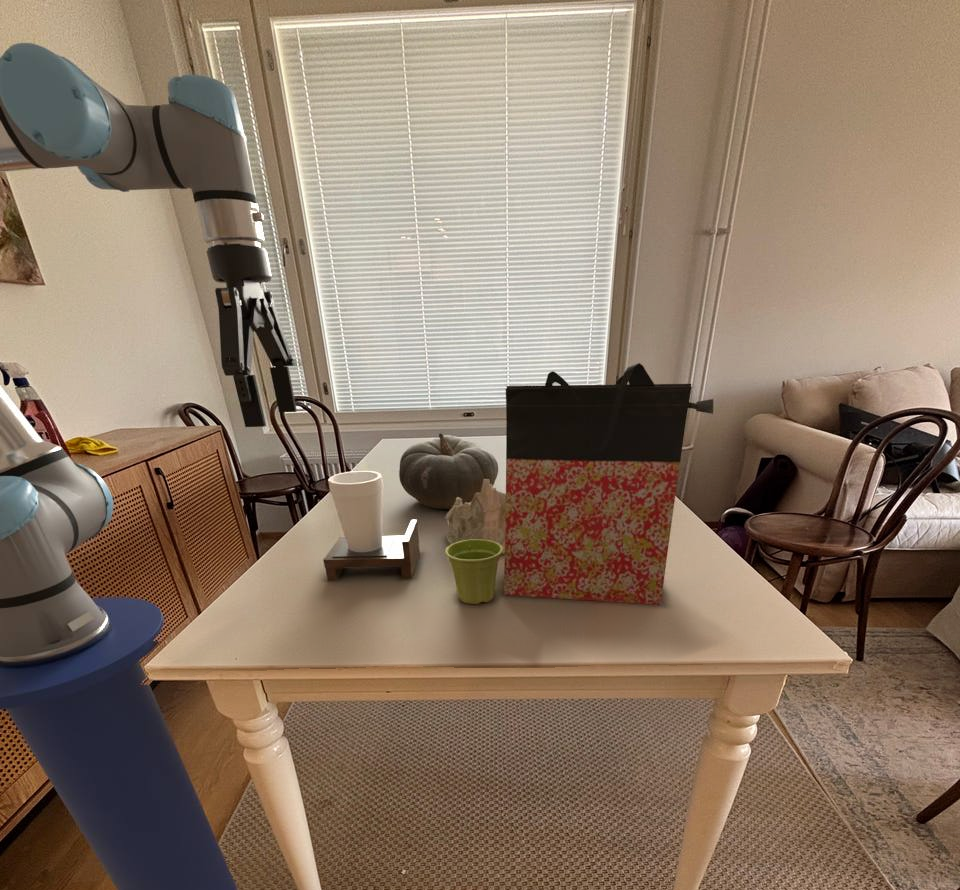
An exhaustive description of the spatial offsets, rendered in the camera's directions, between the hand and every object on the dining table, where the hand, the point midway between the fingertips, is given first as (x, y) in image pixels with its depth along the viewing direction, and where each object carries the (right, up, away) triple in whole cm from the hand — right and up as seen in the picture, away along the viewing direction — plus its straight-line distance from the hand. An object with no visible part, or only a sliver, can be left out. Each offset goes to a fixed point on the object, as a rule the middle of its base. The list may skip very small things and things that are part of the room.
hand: (273, 418), depth 81 cm
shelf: (+11, -19, +23) cm, 32 cm away
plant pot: (+31, -26, +10) cm, 42 cm away
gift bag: (+51, -25, +11) cm, 58 cm away
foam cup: (+10, -16, +21) cm, 28 cm away
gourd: (+24, +2, +59) cm, 63 cm away
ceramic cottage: (+33, -13, +32) cm, 48 cm away
